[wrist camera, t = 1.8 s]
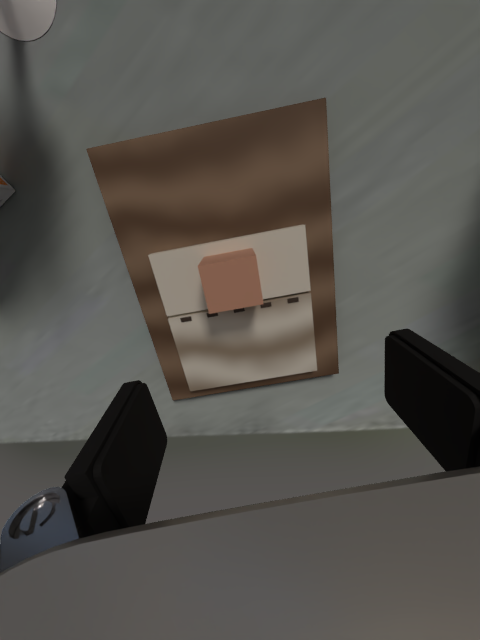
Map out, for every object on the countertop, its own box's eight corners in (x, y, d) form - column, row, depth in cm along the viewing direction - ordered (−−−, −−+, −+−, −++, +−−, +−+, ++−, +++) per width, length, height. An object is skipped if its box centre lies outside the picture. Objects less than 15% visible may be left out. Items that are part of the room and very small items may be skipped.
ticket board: (94, 152, 26) (78, 145, 23) (320, 104, 25) (330, 91, 22) (175, 393, 36) (170, 407, 34) (334, 367, 35) (342, 379, 33)
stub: (151, 253, 28) (129, 264, 22) (302, 224, 27) (320, 227, 21) (169, 313, 30) (154, 336, 25) (307, 288, 30) (325, 305, 24)
